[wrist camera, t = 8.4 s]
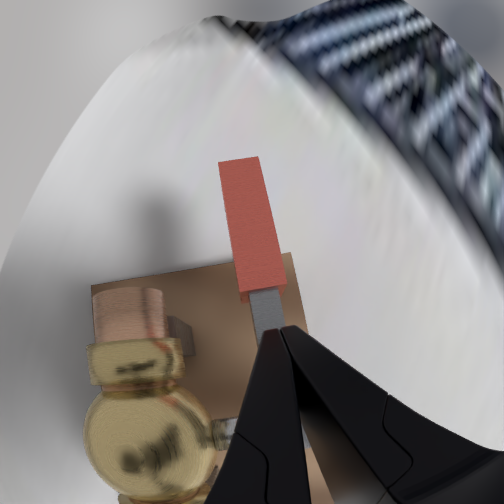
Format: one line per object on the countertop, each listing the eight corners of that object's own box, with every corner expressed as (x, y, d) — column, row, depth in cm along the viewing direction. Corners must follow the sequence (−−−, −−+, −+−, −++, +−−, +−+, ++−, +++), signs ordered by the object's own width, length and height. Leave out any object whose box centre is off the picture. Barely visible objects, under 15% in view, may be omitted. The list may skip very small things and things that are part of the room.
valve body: (272, 493, 14) (289, 578, 6) (159, 503, 13) (107, 577, 5) (236, 306, 17) (226, 259, 9) (123, 323, 17) (39, 290, 9)
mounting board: (334, 503, 14) (339, 511, 13) (144, 525, 13) (139, 533, 12) (288, 258, 19) (290, 252, 18) (99, 289, 18) (91, 285, 17)
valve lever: (320, 453, 9) (258, 156, 12) (272, 463, 9) (218, 162, 12) (308, 439, 11) (257, 185, 14) (268, 447, 11) (222, 190, 14)
